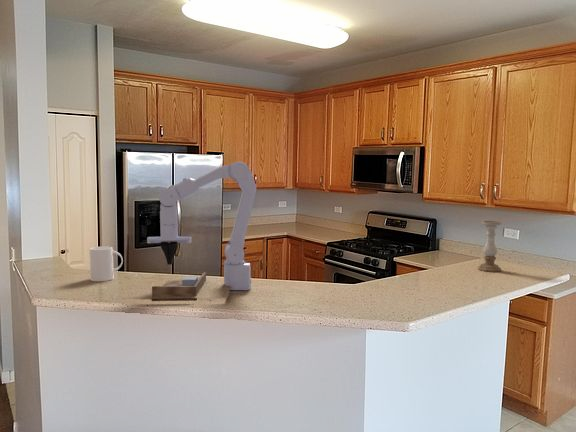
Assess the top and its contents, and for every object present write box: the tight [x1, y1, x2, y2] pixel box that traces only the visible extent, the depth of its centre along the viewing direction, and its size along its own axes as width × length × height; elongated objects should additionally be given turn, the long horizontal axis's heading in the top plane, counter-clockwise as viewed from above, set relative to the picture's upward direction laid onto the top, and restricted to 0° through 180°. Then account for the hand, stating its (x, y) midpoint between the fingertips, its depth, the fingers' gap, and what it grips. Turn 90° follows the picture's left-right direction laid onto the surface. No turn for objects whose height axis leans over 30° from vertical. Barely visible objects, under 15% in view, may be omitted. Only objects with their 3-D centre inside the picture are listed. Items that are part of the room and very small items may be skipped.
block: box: [181, 276, 199, 286], centre depth 155 cm, size 4×4×3 cm
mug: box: [89, 245, 124, 282], centre depth 172 cm, size 12×8×12 cm
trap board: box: [151, 271, 207, 302], centre depth 153 cm, size 14×21×4 cm, turn 2°
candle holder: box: [477, 220, 502, 273], centre depth 188 cm, size 9×9×20 cm
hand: (170, 263), depth 154 cm, fingers closed
